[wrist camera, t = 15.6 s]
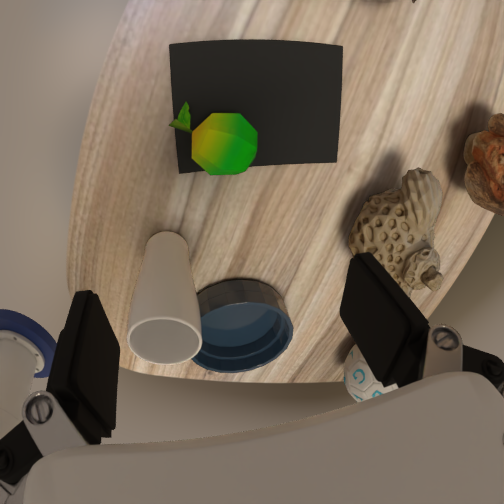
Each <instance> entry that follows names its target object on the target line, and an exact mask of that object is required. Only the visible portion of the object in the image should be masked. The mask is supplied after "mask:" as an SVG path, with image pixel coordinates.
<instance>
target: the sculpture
mask: <svg viewBox="0 0 504 504" xmlns="http://www.w3.org/2000/svg"><path fill="white" fill-rule="evenodd" d="M488 128H489V132H487V131H486V130H484V131H482V132H478V133H473V134H471V135H469V137H468V138H467V139H466V142H465V146H464V153H463V156H464V160H465V162H466V163H467V165H468V167H467V170H466V173H465V185H466V188H467V192H468V194H469V196H470V198H471V199H472V201H473V202H474V203H475V204H477V205H479V206H481V207H482V208H484V209H487V210H489V211H491V212H494V213H496V214H498V215H501V216H504V114H502V113H499V114H495V115H493V116H492V117H491V118H490V120H489V122H488Z"/></svg>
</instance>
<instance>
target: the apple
mask: <svg viewBox="0 0 504 504" xmlns="http://www.w3.org/2000/svg"><path fill="white" fill-rule="evenodd" d="M169 126H171V127H174V128H178V129H181V130H184V131H187V132H190V133H192V159H193V160H194V161H195V162H196V163H197V164H199V165H200V166H201V167H202V168H203V169H204V170H205V171H206V172H207V173H208V174H210V175H236V174H239V173H242V172H244V171H246V170H247V168H248V167H249V166H250V164H251V163H252V161H253V160H254V159H255V157H256V152H257V131H256V130H255V129H254V128H253V127H252V126H251V125H250V124H249V123H248V121H247V120H246V119H245V118H244V117H243V116H242V115H241V114H239V113H212V114H211V115H210V116H209V117H208V118H207V119H206V120H204V121H203V122H202V123H201V124H200V125H199V126H198V127H197V128H196V129H195V130H194V131H192V130H190V108H189V106H188V104H187V102H185V104H184V106H183V107H182V109H181V111H180V113H179V115H178V117H177V119H175V120H174V121H173V122H172V123H171V124H170V125H169Z"/></svg>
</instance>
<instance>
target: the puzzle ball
mask: <svg viewBox="0 0 504 504" xmlns="http://www.w3.org/2000/svg"><path fill="white" fill-rule="evenodd" d="M344 382H345V385H346V387H347V390H348V391H349V394H350V395H351V396H352V397H353V398H354V399H355V400H356V401H357V402H362V401H365V400H367V399H370V398H373V397H376V396H379V395H382V394H384V393H387V392H390V391H393V390H395V389H398V386H397V384H393V385H391V386H388V387H385V388H384V387H383V385H382V383H381V382H378V381H377V380H376V379H375V377H374V375H373V373H372V371H371V370H370V368H369V366H368V364H367V362H366V361H365V359H364V357H363V355H362V354H361V352H360V350H359V348H358V346H357V345H356V344H355V345H354V346H353V347H352V348H351V350H350V352H349V354H348V356H347V358H346V360H345V364H344Z"/></svg>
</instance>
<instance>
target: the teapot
mask: <svg viewBox="0 0 504 504" xmlns="http://www.w3.org/2000/svg"><path fill="white" fill-rule="evenodd" d="M441 201H442V190H441V187H440V184H439V181H438V180H437V179H436V178H435V177H434V176H433V174H432V172H431V171H426V170H423V169H421V168H416V169H414V170H408V172H407V174H406V175H405V176H404V177H402V187H401V189H399V190H396V189H394V188H393V189H389V190H386V191H385V192H383V193H380V194H376V195H373V196H370V197H369V202H368V201H366V203H365V204H364V206H363V208H362V210H361V212H360V214H359V216H358V218H357V219H356V221H355V223H354V226H353V228H352V230H351V233H350V235H349V247H350V249H351V251H352V254H353V258H354V255H355V254H358V253H364V252H370V253H372V254H373V256H374V257H375V258H376V259H377V260H378V261H379V262H380V264H381V265H382V266H383V267H384V268H385V269H386V270H387V272H388V273H389V274H390V275H391V276H392V278H393V279H394V280H395V281H396V282H397V283H398V285H399V286H400V287H401V288H402V289H403V291H404V292H405V293H406V294H407V296H408V297H409V298H410V296H411V292H412V290H413V289H414V290H420V289H422V288H425V287H426V286H427V287H428V288H430V289H431V290H432V291H437V290H438V289H440V285H441V283H442V281H443V276H442V274H441V273H439V270H440V257H439V254H438V253H437V251H436V250H435V249H434V242H433V240H434V238H435V236H434V226H435V223H436V218H437V215H438V213H439V211H440V206H441Z"/></svg>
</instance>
